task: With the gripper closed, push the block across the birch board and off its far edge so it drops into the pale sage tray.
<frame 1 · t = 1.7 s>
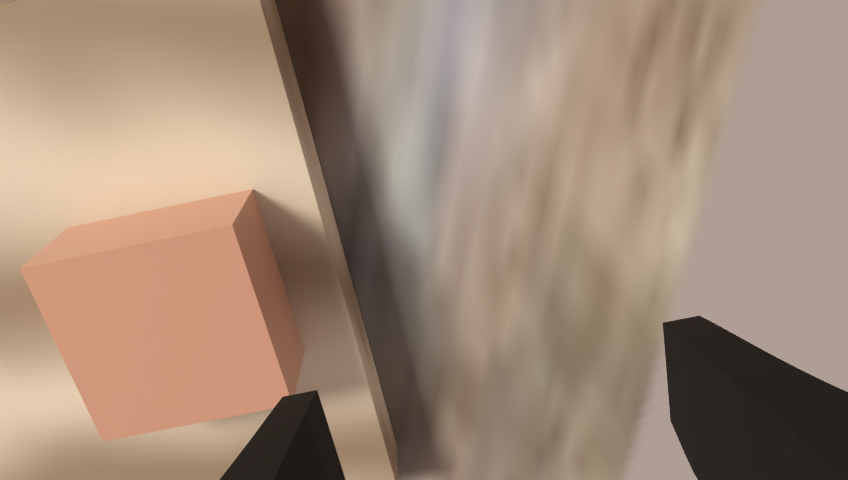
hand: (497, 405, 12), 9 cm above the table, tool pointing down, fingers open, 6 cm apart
board: (144, 274, 21), on the table
block: (191, 292, 19), point 2 cm above the table, touching board
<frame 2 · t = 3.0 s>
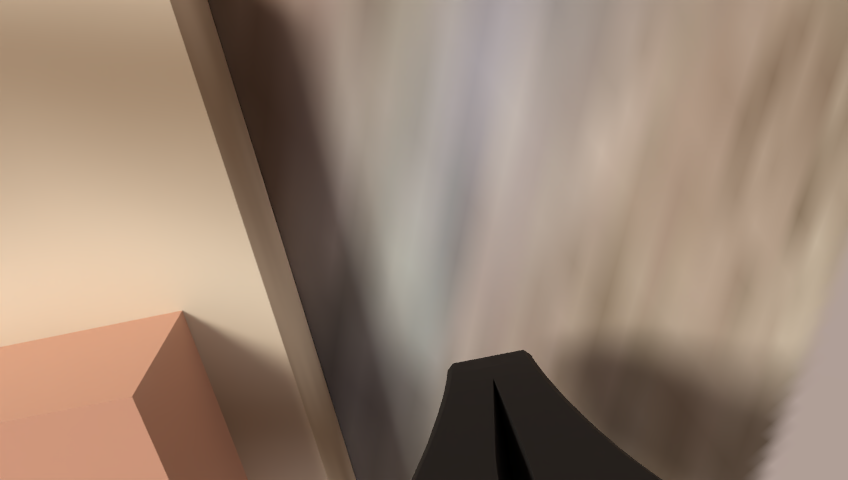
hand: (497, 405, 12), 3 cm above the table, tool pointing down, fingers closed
board: (45, 406, 15), on the table
block: (98, 450, 13), point 2 cm above the table, touching board
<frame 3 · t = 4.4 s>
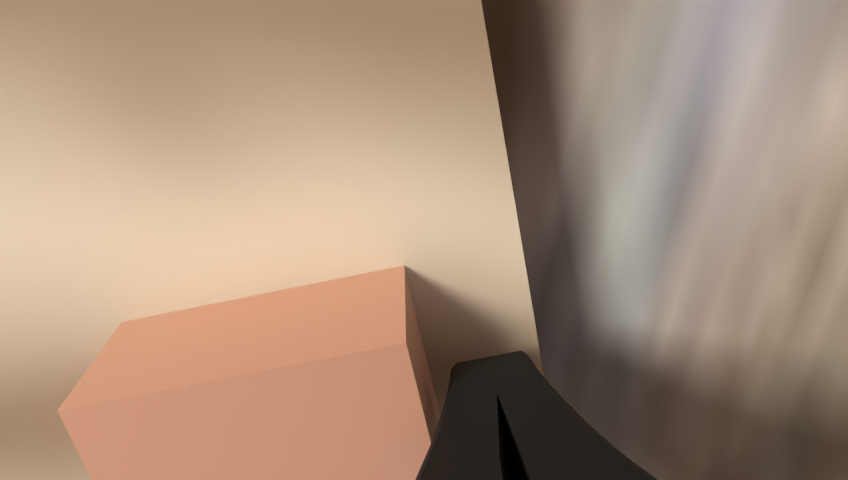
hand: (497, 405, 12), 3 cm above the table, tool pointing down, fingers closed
board: (245, 367, 15), on the table
block: (300, 411, 13), point 2 cm above the table, touching board, gripper
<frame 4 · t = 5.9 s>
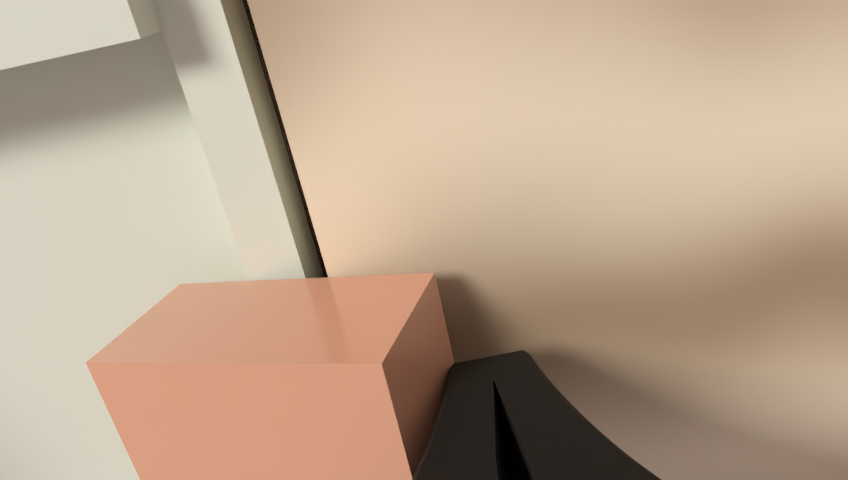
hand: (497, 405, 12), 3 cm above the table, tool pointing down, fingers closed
board: (651, 287, 15), on the table
block: (334, 396, 13), point 2 cm above the table, tilted 19°, touching gripper
tray: (73, 402, 15), on the table
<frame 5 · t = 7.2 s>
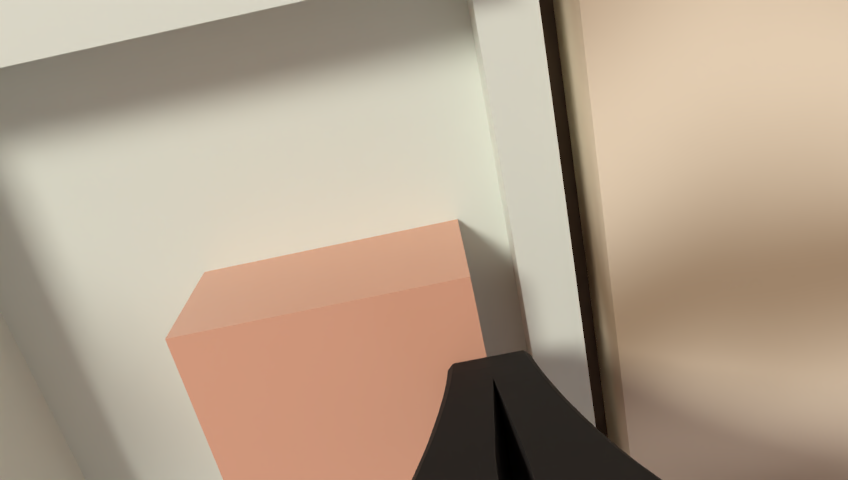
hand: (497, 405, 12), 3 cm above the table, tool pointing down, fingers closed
block: (361, 354, 14), resting on tray
tray: (286, 359, 15), on the table
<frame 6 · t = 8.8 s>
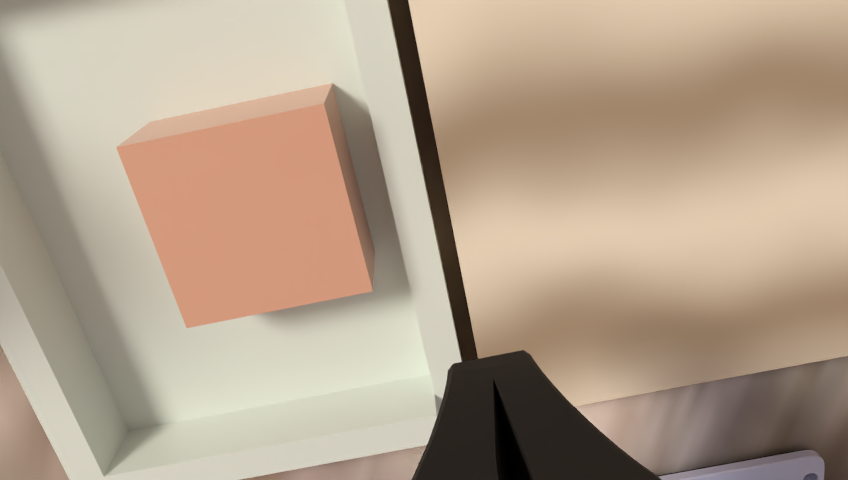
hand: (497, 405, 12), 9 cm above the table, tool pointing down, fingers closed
board: (648, 108, 20), on the table
block: (267, 189, 20), resting on tray
tray: (214, 196, 20), on the table
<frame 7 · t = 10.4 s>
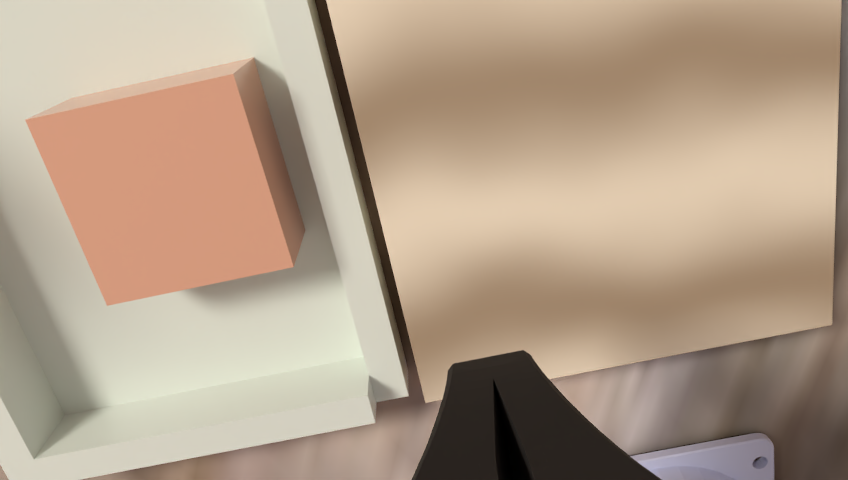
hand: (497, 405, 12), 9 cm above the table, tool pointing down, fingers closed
board: (578, 82, 19), on the table
block: (193, 167, 19), resting on tray
tray: (141, 174, 20), on the table
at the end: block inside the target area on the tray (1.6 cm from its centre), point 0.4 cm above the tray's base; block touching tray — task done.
